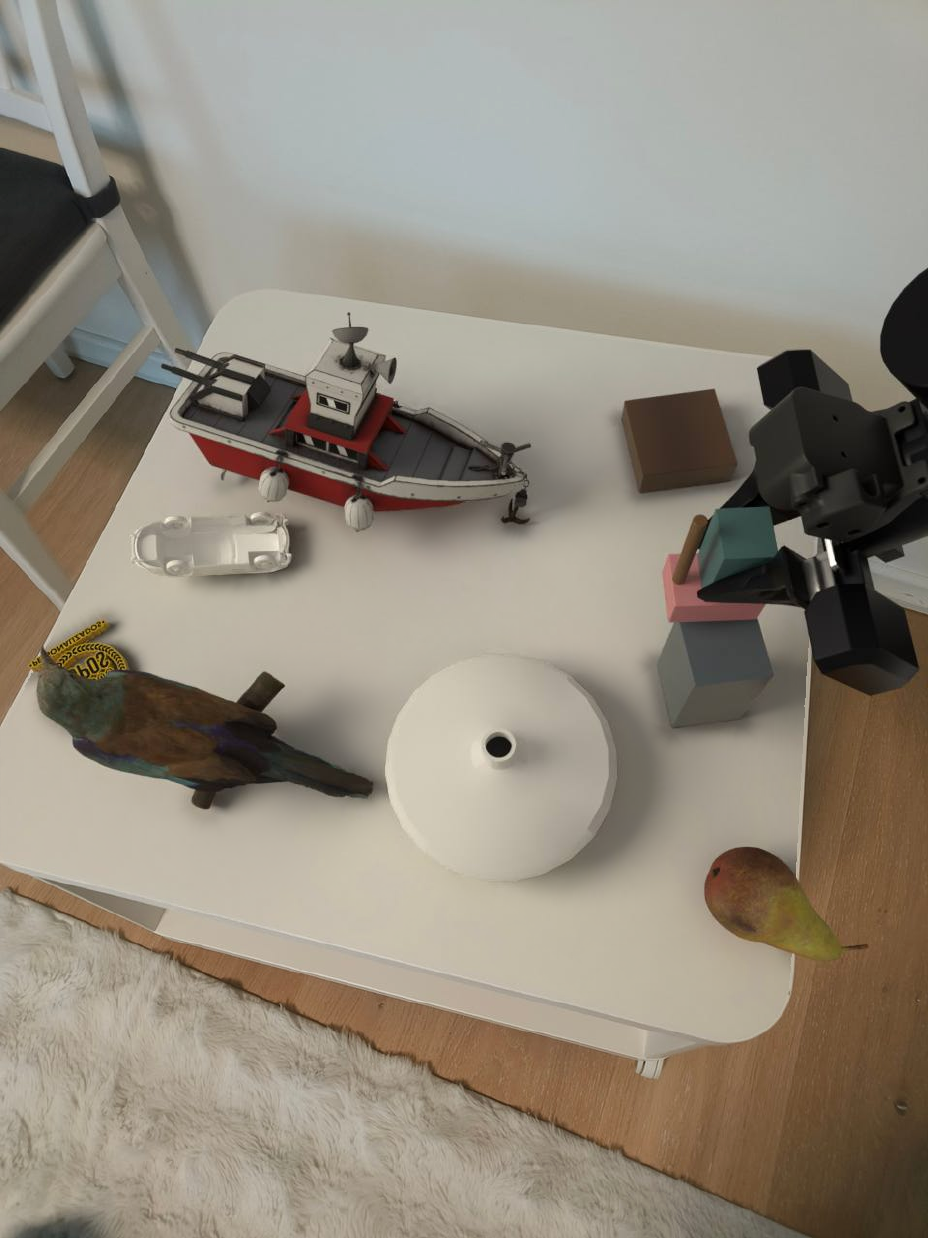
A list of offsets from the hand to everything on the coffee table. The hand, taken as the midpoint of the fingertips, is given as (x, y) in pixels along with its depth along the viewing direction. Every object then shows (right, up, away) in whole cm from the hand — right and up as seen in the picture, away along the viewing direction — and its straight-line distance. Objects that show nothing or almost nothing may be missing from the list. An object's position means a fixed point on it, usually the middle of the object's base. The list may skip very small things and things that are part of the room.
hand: (696, 570), depth 51 cm
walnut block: (+4, +11, +20) cm, 23 cm away
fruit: (+2, -18, +2) cm, 19 cm away
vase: (-11, -14, +10) cm, 20 cm away
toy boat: (-22, +8, +20) cm, 31 cm away
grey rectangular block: (+3, -8, +11) cm, 14 cm away
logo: (-45, -5, +16) cm, 48 cm away
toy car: (-33, +3, +15) cm, 37 cm away
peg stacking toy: (+2, -1, +3) cm, 4 cm away
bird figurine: (-30, -12, +11) cm, 35 cm away
